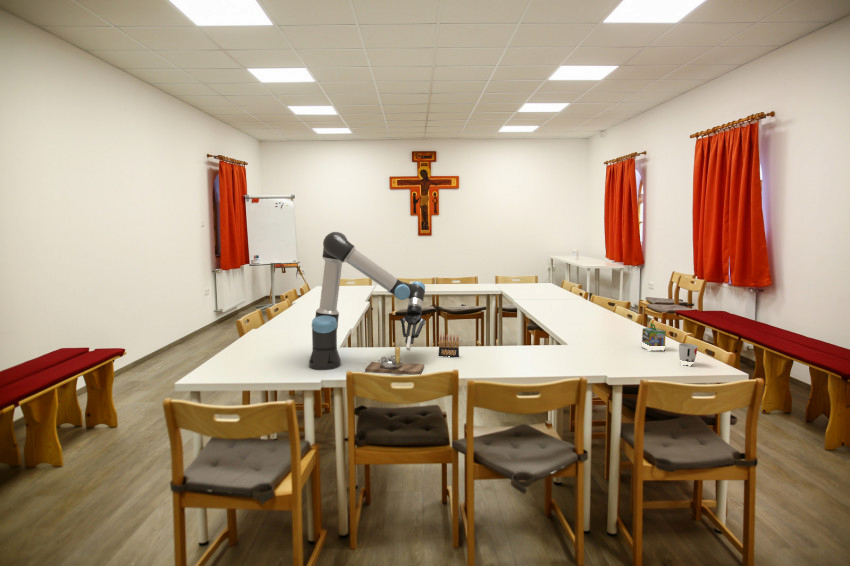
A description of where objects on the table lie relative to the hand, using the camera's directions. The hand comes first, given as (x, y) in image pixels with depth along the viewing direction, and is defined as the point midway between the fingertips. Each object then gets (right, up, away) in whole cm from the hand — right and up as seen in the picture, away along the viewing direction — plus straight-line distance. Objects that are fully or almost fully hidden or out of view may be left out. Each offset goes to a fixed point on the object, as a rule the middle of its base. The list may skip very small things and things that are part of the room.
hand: (408, 349), depth 227 cm
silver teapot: (-7, -8, -4) cm, 11 cm away
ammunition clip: (+20, -7, +21) cm, 30 cm away
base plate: (-6, -9, -2) cm, 11 cm away
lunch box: (+136, -6, +40) cm, 142 cm away
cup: (+139, -9, +10) cm, 140 cm away
